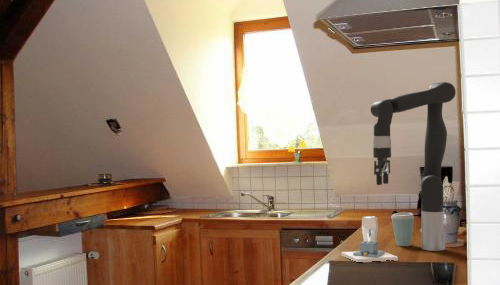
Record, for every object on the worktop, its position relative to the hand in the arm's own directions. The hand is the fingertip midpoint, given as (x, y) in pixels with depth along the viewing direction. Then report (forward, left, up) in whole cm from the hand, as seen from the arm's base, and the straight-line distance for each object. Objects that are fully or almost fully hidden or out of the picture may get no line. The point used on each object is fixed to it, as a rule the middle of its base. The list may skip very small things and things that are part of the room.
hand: (382, 184), depth 246 cm
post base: (+10, +7, -30) cm, 32 cm away
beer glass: (+2, -9, -30) cm, 32 cm away
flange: (+10, +7, -29) cm, 31 cm away
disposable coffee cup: (-19, -18, -30) cm, 40 cm away
